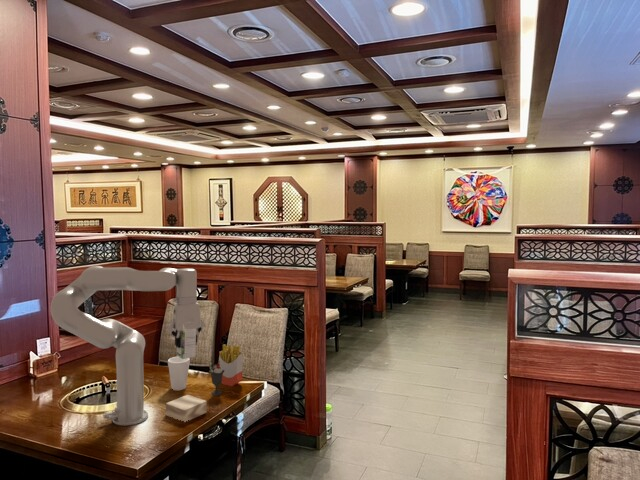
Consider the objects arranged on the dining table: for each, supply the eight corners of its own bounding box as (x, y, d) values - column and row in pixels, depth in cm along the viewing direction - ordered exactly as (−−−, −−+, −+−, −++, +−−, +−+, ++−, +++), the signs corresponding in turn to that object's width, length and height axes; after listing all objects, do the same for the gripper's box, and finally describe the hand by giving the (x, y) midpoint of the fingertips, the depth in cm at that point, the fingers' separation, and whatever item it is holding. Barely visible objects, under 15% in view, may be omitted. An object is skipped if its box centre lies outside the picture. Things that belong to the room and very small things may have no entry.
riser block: (184, 423, 177) (184, 410, 177) (165, 415, 183) (165, 403, 183) (206, 413, 186) (206, 400, 186) (187, 406, 193) (187, 394, 192)
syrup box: (176, 355, 184) (176, 319, 183) (190, 353, 188) (190, 317, 187) (181, 359, 180) (182, 322, 179) (196, 356, 183) (196, 320, 183)
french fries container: (236, 387, 213) (236, 348, 212) (217, 383, 218) (217, 345, 217) (242, 384, 217) (242, 346, 216) (223, 380, 222) (224, 343, 221)
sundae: (221, 396, 202) (221, 362, 201) (206, 395, 204) (206, 361, 203) (227, 391, 209) (227, 358, 208) (213, 389, 210) (213, 357, 209)
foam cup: (178, 382, 218) (179, 355, 217) (193, 386, 214) (194, 358, 213) (163, 389, 210) (163, 360, 209) (178, 393, 205) (178, 364, 205)
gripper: (168, 304, 174) (168, 351, 175) (211, 299, 185) (210, 344, 186) (161, 300, 180) (161, 347, 181) (203, 296, 191) (202, 340, 192)
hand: (186, 345), depth 183 cm, fingers closed on syrup box, 5 cm apart
